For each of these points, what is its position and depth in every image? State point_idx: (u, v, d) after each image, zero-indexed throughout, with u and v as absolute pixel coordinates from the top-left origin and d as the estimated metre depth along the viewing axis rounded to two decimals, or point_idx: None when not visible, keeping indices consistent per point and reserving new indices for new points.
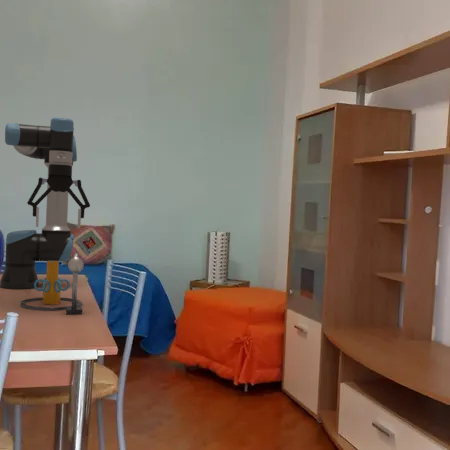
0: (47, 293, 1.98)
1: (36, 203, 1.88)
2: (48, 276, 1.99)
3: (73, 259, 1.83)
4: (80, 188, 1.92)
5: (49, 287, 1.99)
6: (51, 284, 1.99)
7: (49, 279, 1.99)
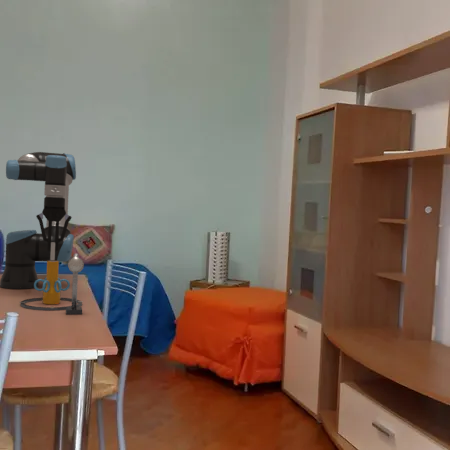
0: (47, 293, 1.98)
1: (49, 238, 2.11)
2: (48, 276, 1.99)
3: (73, 259, 1.83)
4: (66, 223, 2.13)
5: (49, 287, 1.99)
6: (51, 284, 1.99)
7: (49, 279, 1.99)
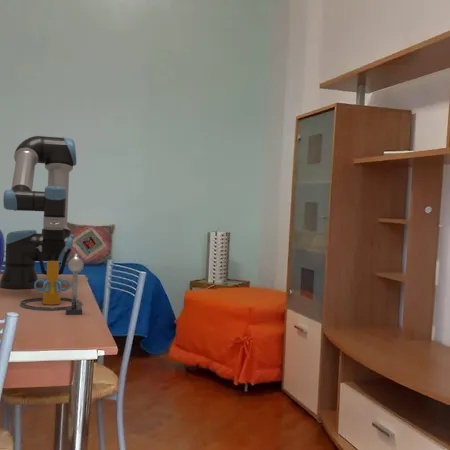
0: (47, 293, 1.98)
1: None
2: (48, 276, 1.99)
3: (73, 259, 1.83)
4: (66, 255, 2.07)
5: (49, 287, 1.98)
6: (51, 284, 1.98)
7: (49, 279, 1.98)
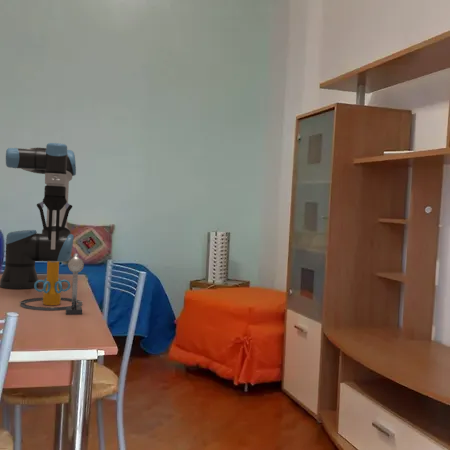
0: (47, 294, 1.97)
1: (50, 227, 2.08)
2: (48, 277, 1.98)
3: (73, 259, 1.83)
4: (67, 212, 2.10)
5: (49, 288, 1.97)
6: (51, 285, 1.98)
7: (49, 280, 1.97)
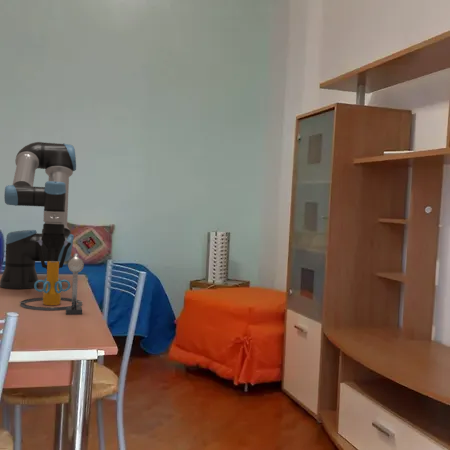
0: (47, 294, 1.97)
1: None
2: (48, 277, 1.98)
3: (73, 259, 1.83)
4: (65, 249, 2.10)
5: (49, 288, 1.97)
6: (51, 285, 1.98)
7: (49, 280, 1.97)
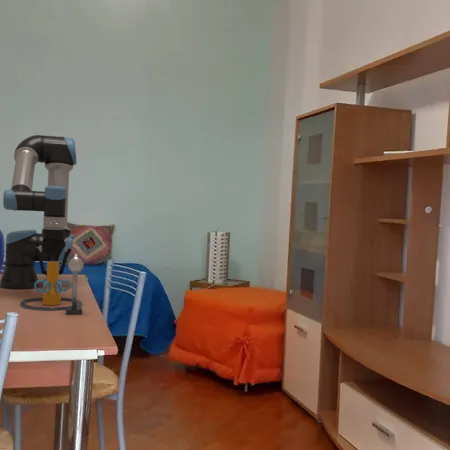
0: (47, 294, 1.97)
1: None
2: (48, 277, 1.98)
3: (73, 259, 1.83)
4: (66, 255, 2.06)
5: (49, 288, 1.97)
6: (51, 285, 1.98)
7: (49, 280, 1.97)
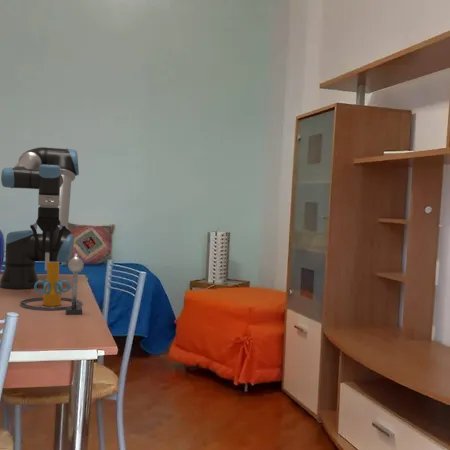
0: (48, 295, 1.95)
1: (43, 249, 2.09)
2: (49, 277, 1.96)
3: (73, 259, 1.83)
4: (61, 233, 2.11)
5: (50, 288, 1.96)
6: (52, 285, 1.96)
7: (50, 280, 1.96)
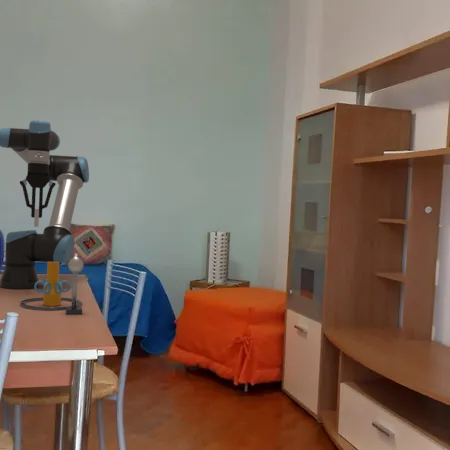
0: (48, 295, 1.95)
1: (33, 205, 2.09)
2: (49, 277, 1.96)
3: (73, 259, 1.83)
4: (50, 189, 2.11)
5: (50, 288, 1.96)
6: (52, 285, 1.96)
7: (50, 280, 1.96)
